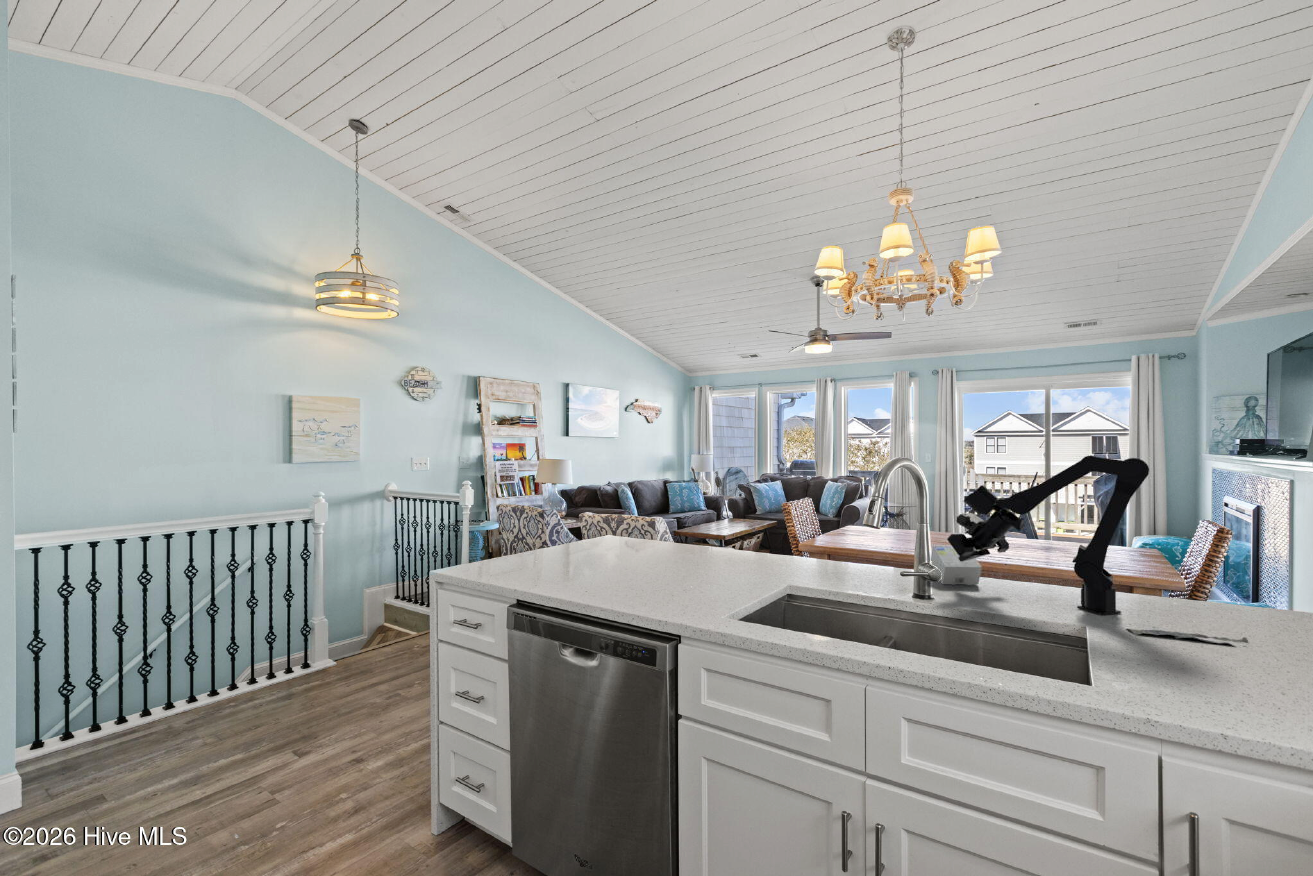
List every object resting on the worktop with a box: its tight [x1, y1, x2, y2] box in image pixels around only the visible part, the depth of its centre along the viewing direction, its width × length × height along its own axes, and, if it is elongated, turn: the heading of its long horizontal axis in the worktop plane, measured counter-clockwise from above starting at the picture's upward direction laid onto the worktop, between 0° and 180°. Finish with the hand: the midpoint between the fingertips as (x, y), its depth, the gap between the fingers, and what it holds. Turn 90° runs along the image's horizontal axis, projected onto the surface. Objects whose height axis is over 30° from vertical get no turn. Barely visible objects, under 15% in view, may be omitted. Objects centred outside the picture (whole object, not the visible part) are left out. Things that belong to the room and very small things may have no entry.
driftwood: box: [1126, 626, 1250, 648], centre depth 128 cm, size 21×7×2 cm, turn 62°
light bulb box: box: [930, 545, 983, 585], centre depth 179 cm, size 11×7×11 cm
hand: (960, 560), depth 173 cm, fingers closed
